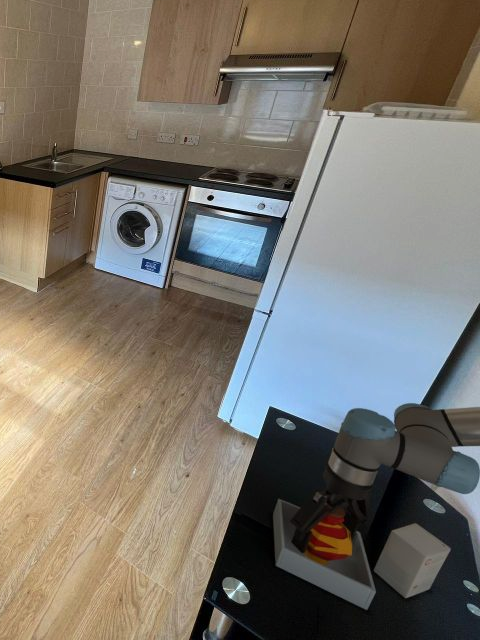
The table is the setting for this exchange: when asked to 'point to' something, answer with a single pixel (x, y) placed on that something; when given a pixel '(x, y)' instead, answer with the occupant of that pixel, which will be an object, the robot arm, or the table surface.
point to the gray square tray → (337, 577)
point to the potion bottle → (329, 539)
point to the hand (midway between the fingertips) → (321, 542)
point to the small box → (411, 560)
